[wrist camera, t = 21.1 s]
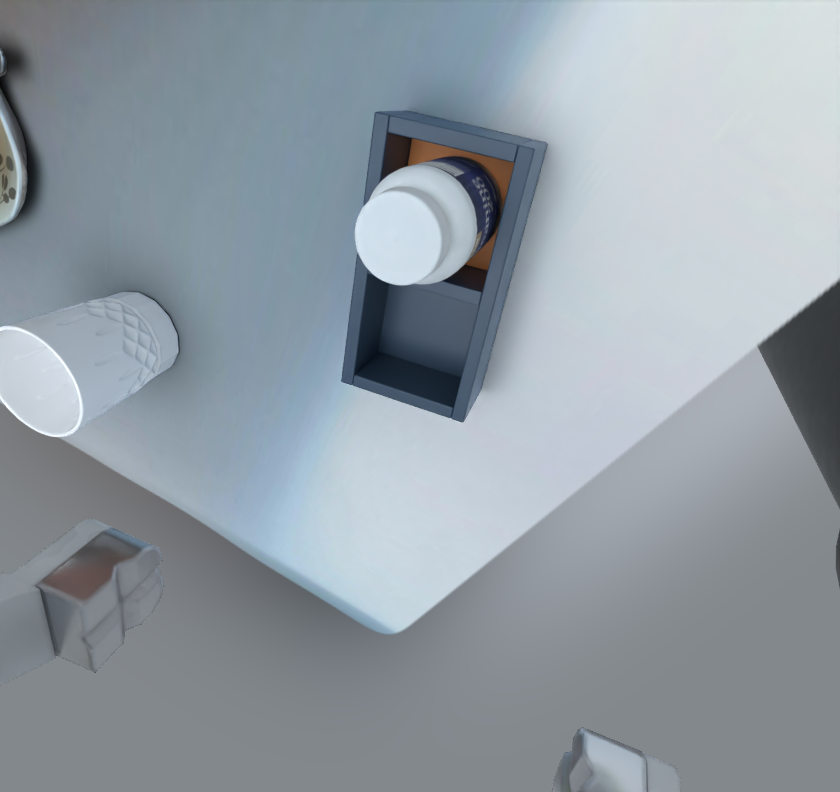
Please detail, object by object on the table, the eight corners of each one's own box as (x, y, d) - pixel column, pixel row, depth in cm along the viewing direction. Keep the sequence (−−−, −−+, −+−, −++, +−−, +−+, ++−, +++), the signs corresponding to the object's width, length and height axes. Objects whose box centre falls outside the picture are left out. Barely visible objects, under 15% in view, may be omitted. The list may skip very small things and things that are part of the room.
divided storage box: (548, 142, 30) (535, 148, 26) (480, 390, 38) (463, 423, 34) (406, 110, 32) (374, 111, 28) (369, 354, 39) (340, 382, 36)
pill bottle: (498, 259, 33) (453, 310, 25) (410, 247, 34) (340, 292, 26) (510, 158, 30) (464, 178, 22) (414, 150, 32) (338, 166, 24)
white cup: (144, 266, 42) (22, 306, 34) (204, 357, 44) (103, 417, 36) (86, 307, 46) (-37, 353, 38) (144, 390, 48) (39, 450, 40)
